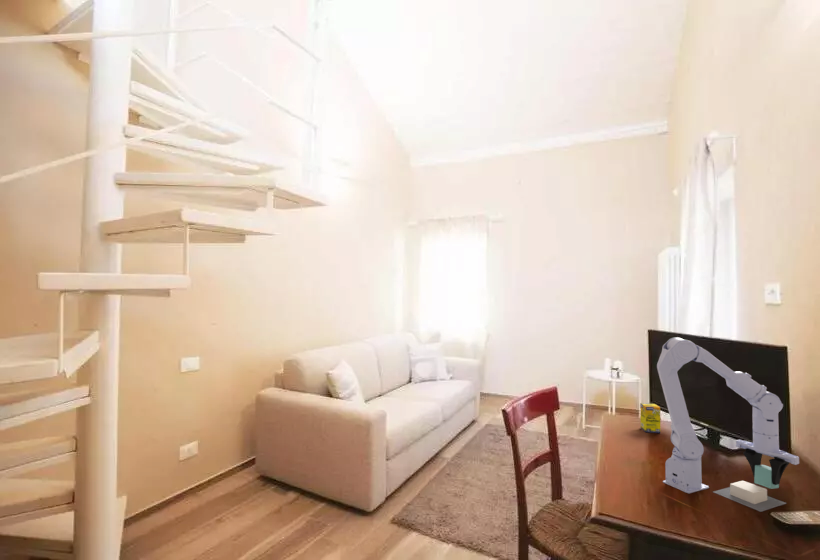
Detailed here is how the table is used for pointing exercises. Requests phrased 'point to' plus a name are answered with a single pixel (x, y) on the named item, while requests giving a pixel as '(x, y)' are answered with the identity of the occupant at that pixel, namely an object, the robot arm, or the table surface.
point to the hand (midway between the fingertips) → (766, 480)
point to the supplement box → (650, 418)
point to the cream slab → (748, 492)
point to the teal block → (764, 476)
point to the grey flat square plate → (759, 506)
